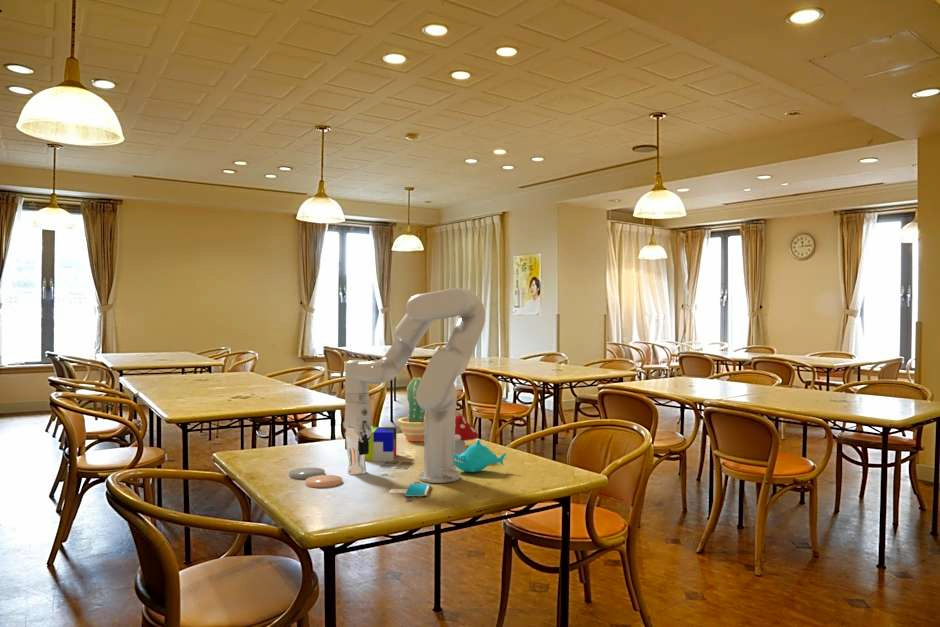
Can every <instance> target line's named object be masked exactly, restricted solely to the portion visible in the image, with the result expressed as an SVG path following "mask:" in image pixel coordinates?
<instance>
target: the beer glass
mask: <svg viewBox="0 0 940 627" xmlns="http://www.w3.org/2000/svg"><path fill="white" fill-rule="evenodd" d="M360 432H365V431H363V430H361V431H360ZM362 437H364V435H362ZM359 442H360V439H359V436H358V435H356V434H355V430H354V428H349V427H348V426H347V431H346V447H347V450H346V451H347V458H348V467H347V471H346V472H347V474H348V475H351V476H352V475H353V476H361V475H364V474H366V473H367V467H366V461H365V458H366V454H364V455H359Z"/></svg>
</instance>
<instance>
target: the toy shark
mask: <svg viewBox="0 0 940 627" xmlns="http://www.w3.org/2000/svg"><path fill="white" fill-rule="evenodd" d="M505 456H507V452H505V453H502V455H501V456H500V457H498V456H497V454H496V453H493V452H492V451H491V449H489V448H488V447H487V446H486V445H484V444H482V443H481V440H480V438H478V439H477V441H476V443H475V444H471V445H470V446H469V447H466V451H465V452H464V453H461V455H457V454H455V465H456V469H459V470H461V471H463V472H466V473H476V472H480V471H482V470H484V469H486V468H487V467H489V466H490V465H493V464H494V465H497V464H498V463H500V464H501V465H502V466H503V465H505V464H504V458H505Z"/></svg>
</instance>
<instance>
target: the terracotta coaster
mask: <svg viewBox="0 0 940 627" xmlns="http://www.w3.org/2000/svg"><path fill="white" fill-rule="evenodd" d="M304 480H305V481H304V485H305V486H306V487H308V488H316V489H318V488H319V489H325V488H333V487H337V486H340V485H342V484H343V477H342V476H339V475H333V474H325V475H319V476H313V477H309V478H307V479H304Z"/></svg>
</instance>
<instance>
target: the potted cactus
mask: <svg viewBox="0 0 940 627" xmlns="http://www.w3.org/2000/svg"><path fill="white" fill-rule="evenodd" d="M421 379H422V377H415V376H414V377H413V378H412V379H411V380H410V382H409V384H408V385H407V387H406V398H407V402H408V403H407V404H408V417H407V416H406V417H401V418H398V419H397V425H399V426H400V429H401V432H402V433H403V435H404V436H405V441H406V440H407V442H411V441H421V442H424V431H425V410H423V409H422V408H421V407H420V406H419V405H418V403H417V400H416V392H417V389H418V386H419V384H420V381H421Z"/></svg>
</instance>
